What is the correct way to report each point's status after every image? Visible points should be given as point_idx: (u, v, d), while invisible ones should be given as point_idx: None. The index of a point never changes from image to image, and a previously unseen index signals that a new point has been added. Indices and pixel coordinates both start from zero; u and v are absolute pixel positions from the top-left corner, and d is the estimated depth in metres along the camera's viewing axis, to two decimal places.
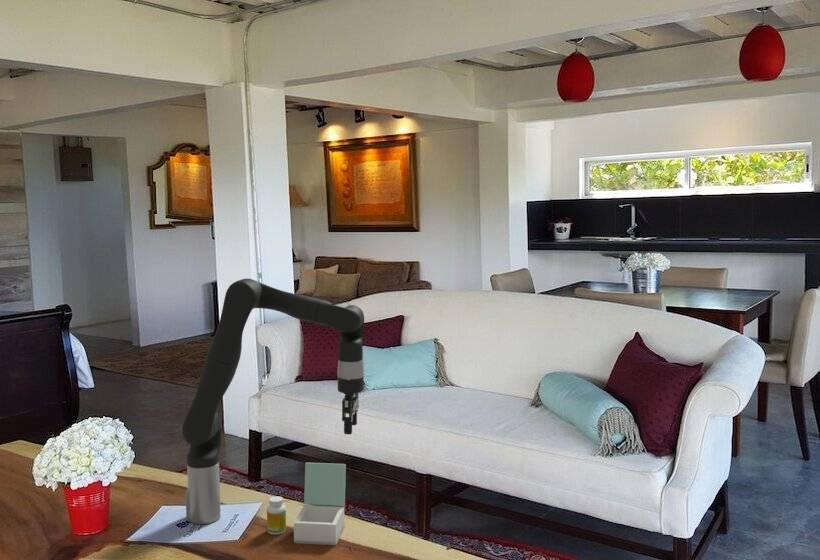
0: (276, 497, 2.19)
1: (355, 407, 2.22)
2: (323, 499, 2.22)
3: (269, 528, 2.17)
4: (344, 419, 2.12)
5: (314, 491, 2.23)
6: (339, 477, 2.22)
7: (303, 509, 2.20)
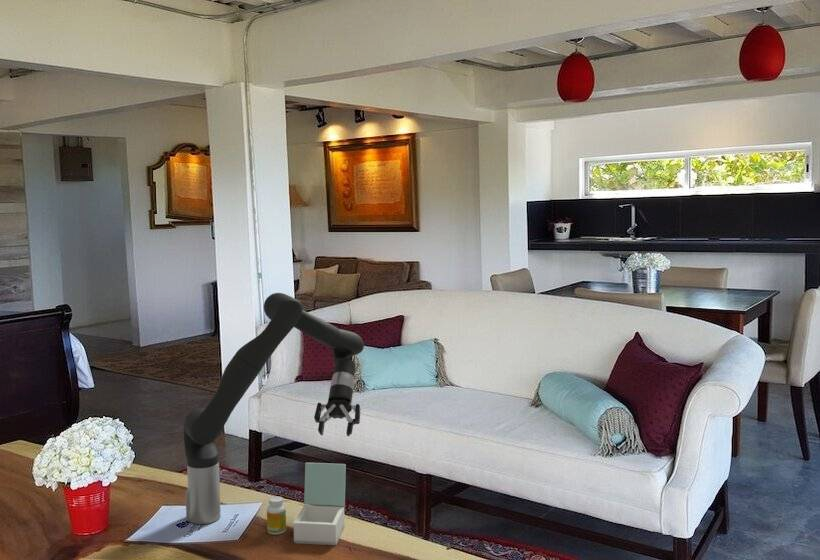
0: (276, 497, 2.19)
1: (328, 419, 2.40)
2: (323, 499, 2.22)
3: (269, 528, 2.17)
4: (358, 419, 2.37)
5: (314, 491, 2.23)
6: (339, 477, 2.22)
7: (303, 509, 2.20)
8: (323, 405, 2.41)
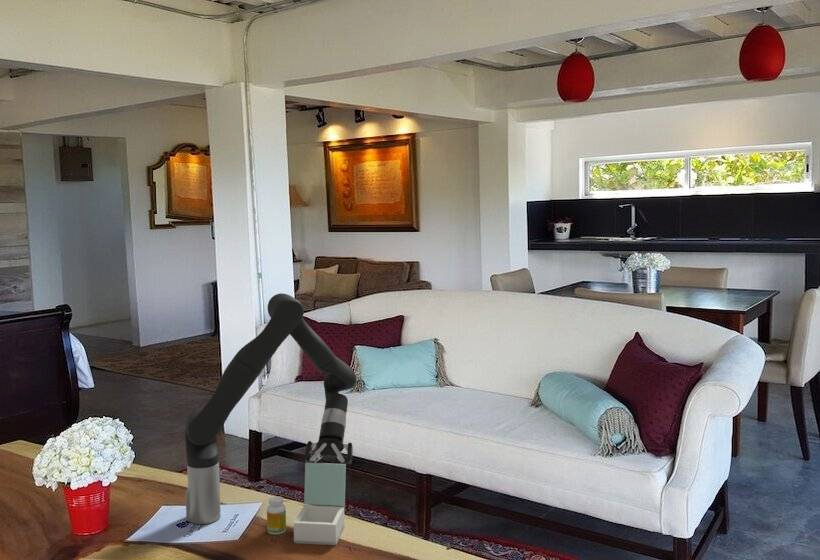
0: (276, 497, 2.19)
1: (319, 458, 2.29)
2: (323, 499, 2.22)
3: (269, 528, 2.17)
4: (351, 459, 2.26)
5: (314, 491, 2.23)
6: (339, 477, 2.22)
7: (303, 509, 2.20)
8: (314, 444, 2.30)
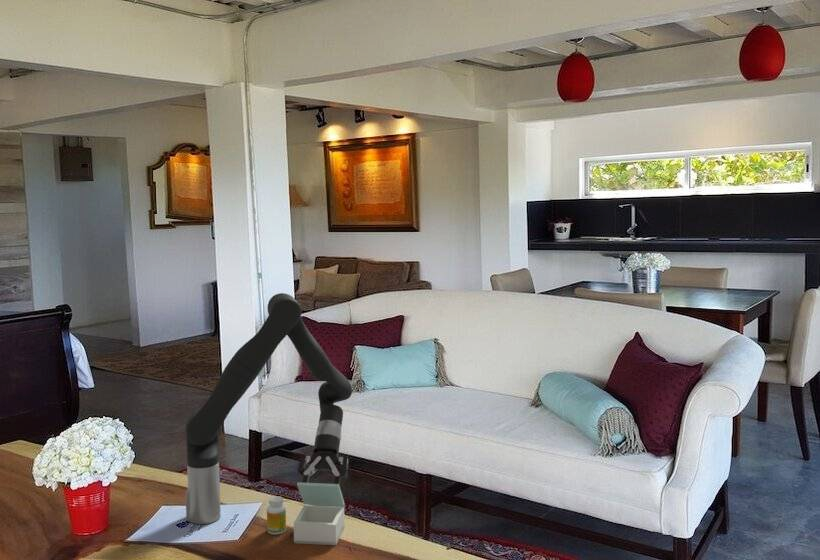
0: (276, 497, 2.19)
1: (313, 472, 2.21)
2: (322, 502, 2.21)
3: (269, 528, 2.17)
4: (346, 473, 2.19)
5: (312, 498, 2.20)
6: (334, 492, 2.16)
7: (303, 509, 2.20)
8: (308, 457, 2.23)
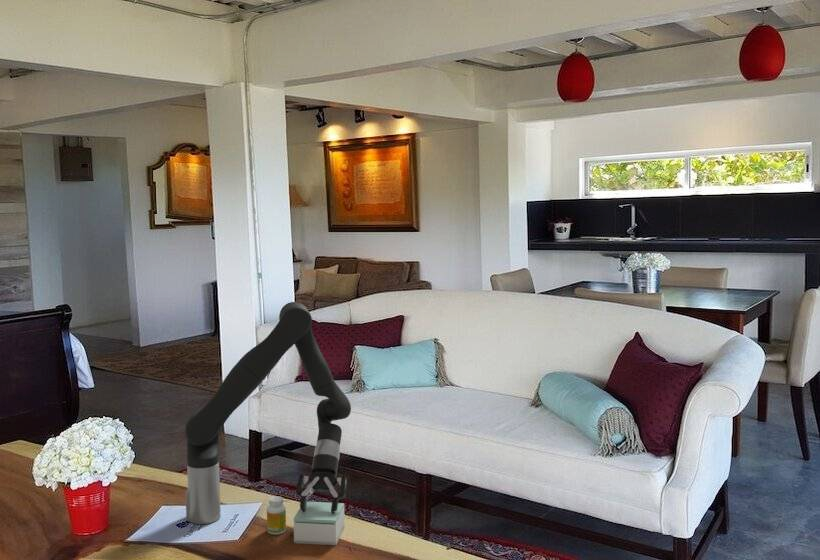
0: (276, 497, 2.19)
1: (311, 493, 2.19)
2: None
3: (269, 528, 2.17)
4: (344, 494, 2.16)
5: None
6: None
7: None
8: (306, 477, 2.20)
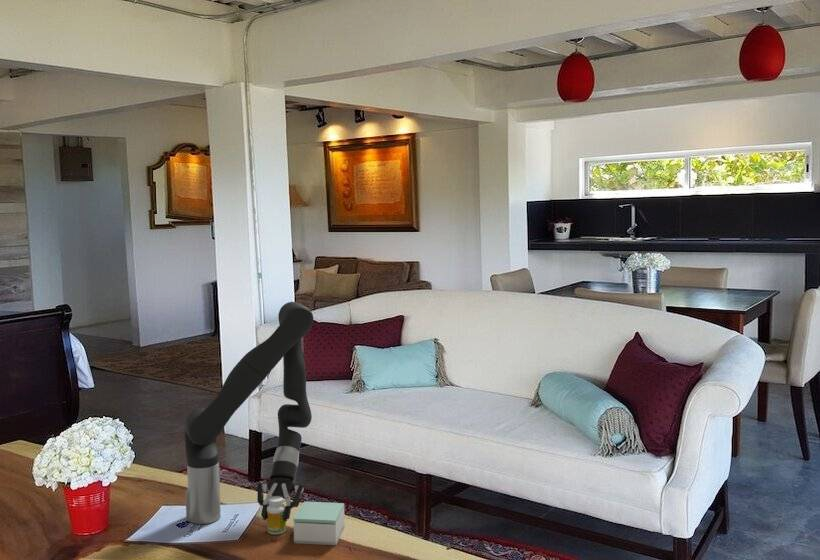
0: (276, 497, 2.19)
1: None
2: None
3: (269, 528, 2.17)
4: (296, 502, 2.19)
5: None
6: None
7: None
8: (264, 485, 2.23)
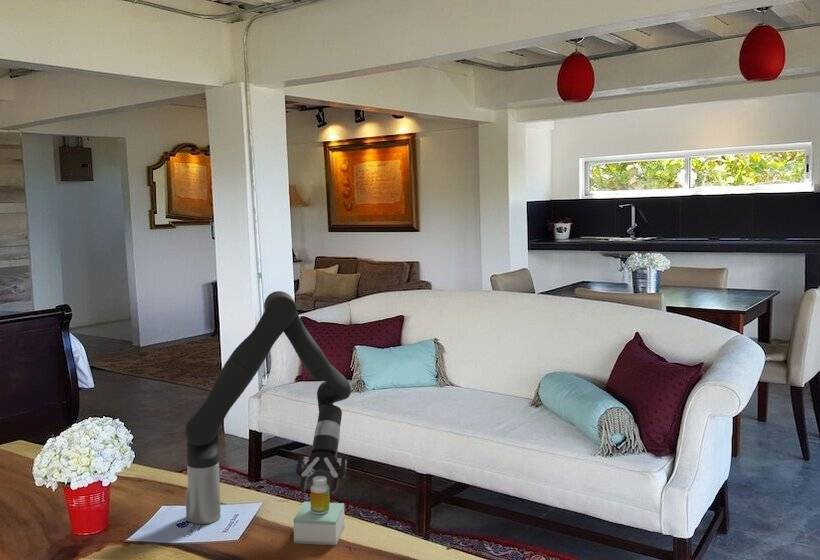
0: (320, 476, 2.16)
1: (311, 473, 2.19)
2: None
3: (313, 508, 2.14)
4: (344, 474, 2.16)
5: None
6: None
7: None
8: (306, 458, 2.20)
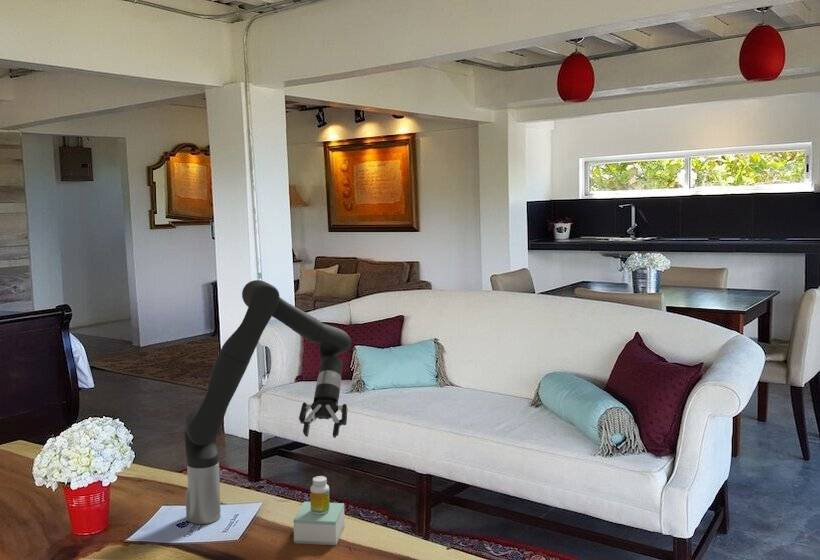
0: (320, 477, 2.16)
1: (313, 419, 2.29)
2: None
3: (313, 508, 2.14)
4: (345, 420, 2.27)
5: None
6: None
7: None
8: (308, 405, 2.31)
